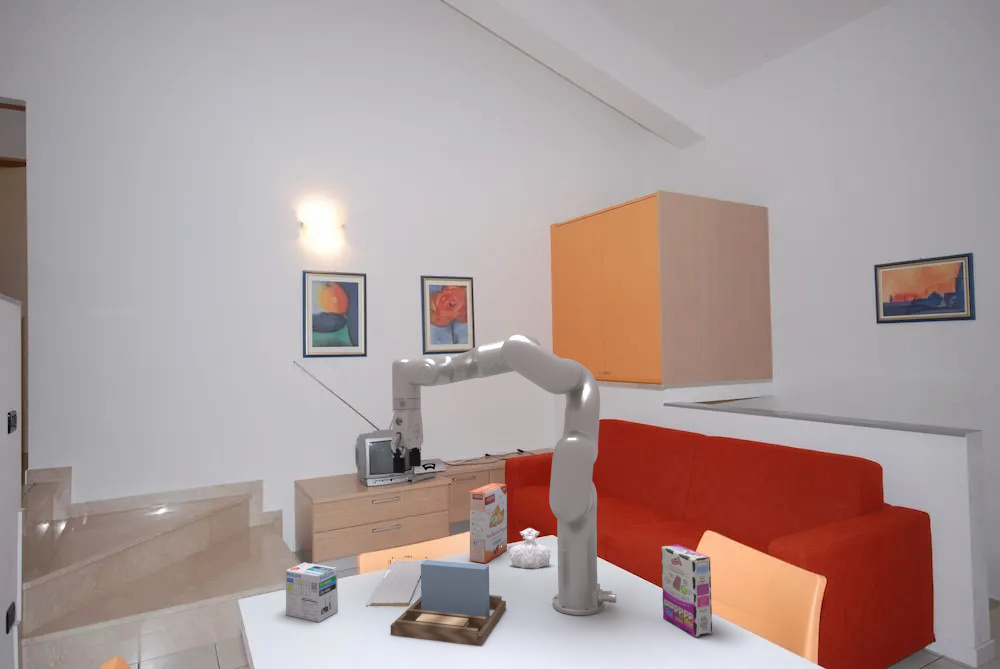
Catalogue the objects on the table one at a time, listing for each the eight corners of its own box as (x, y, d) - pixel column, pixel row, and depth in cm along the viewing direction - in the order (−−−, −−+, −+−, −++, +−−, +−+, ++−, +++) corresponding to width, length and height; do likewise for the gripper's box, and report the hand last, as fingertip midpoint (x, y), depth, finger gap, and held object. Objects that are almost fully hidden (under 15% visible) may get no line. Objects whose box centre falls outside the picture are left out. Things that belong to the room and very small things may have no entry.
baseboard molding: (359, 609, 147) (408, 609, 147) (359, 597, 148) (408, 597, 147) (386, 565, 178) (426, 565, 178) (386, 555, 179) (426, 555, 178)
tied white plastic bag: (551, 572, 175) (549, 534, 182) (551, 563, 169) (549, 524, 176) (509, 572, 175) (510, 534, 183) (508, 563, 170) (509, 524, 177)
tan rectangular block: (469, 633, 133) (469, 618, 133) (463, 642, 129) (463, 626, 129) (419, 627, 136) (419, 613, 136) (412, 635, 132) (412, 620, 132)
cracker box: (486, 564, 176) (485, 492, 177) (469, 561, 179) (468, 490, 180) (508, 550, 188) (507, 483, 189) (491, 548, 191) (490, 482, 192)
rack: (505, 609, 144) (505, 596, 144) (481, 645, 126) (481, 631, 126) (425, 600, 150) (425, 588, 150) (390, 634, 132) (390, 620, 132)
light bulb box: (339, 612, 145) (338, 566, 145) (319, 623, 139) (319, 575, 139) (304, 605, 149) (304, 561, 150) (284, 615, 143) (284, 569, 143)
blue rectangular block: (489, 617, 140) (488, 565, 141) (485, 622, 137) (485, 569, 138) (426, 610, 145) (425, 559, 145) (421, 615, 142) (420, 564, 142)
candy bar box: (714, 634, 130) (711, 557, 130) (695, 638, 128) (693, 560, 128) (679, 614, 140) (677, 542, 141) (662, 618, 138) (660, 545, 139)
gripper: (405, 407, 151) (406, 476, 150) (432, 402, 168) (433, 464, 167) (378, 407, 153) (379, 475, 153) (407, 402, 170) (408, 463, 169)
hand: (407, 469), depth 160 cm, fingers open, 9 cm apart
